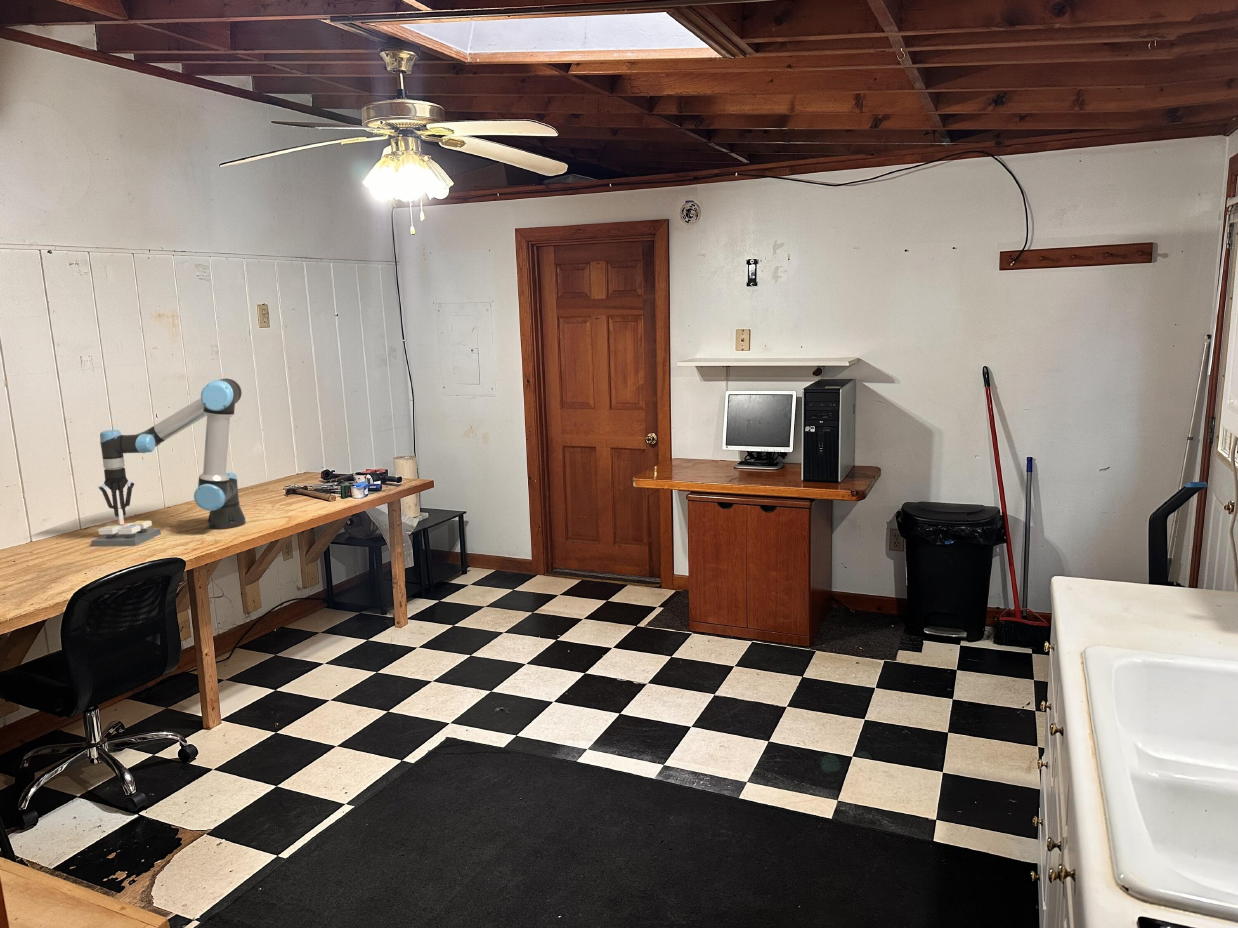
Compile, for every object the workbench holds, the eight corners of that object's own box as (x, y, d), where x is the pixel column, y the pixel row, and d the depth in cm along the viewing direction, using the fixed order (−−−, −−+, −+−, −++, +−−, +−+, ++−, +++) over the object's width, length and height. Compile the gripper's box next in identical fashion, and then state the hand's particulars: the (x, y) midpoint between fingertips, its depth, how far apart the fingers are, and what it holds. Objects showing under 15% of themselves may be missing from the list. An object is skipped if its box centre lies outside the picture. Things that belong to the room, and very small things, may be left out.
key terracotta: (134, 532, 361) (132, 522, 360) (125, 535, 355) (124, 525, 354) (120, 532, 361) (119, 522, 360) (112, 535, 356) (110, 526, 355)
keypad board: (160, 533, 363) (160, 528, 362) (135, 545, 345) (134, 540, 345) (119, 534, 364) (118, 528, 363) (92, 546, 346) (91, 540, 346)
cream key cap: (152, 529, 360) (151, 520, 360) (144, 533, 355) (143, 523, 354) (139, 529, 361) (137, 520, 360) (130, 533, 355) (129, 523, 354)
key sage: (122, 535, 353) (120, 525, 352) (113, 538, 347) (112, 528, 346) (108, 535, 353) (107, 525, 352) (99, 539, 348) (98, 529, 347)
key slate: (141, 534, 353) (139, 524, 352) (132, 538, 347) (131, 528, 346) (127, 535, 353) (126, 525, 352) (118, 538, 347) (117, 528, 346)
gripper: (129, 464, 360) (136, 519, 364) (94, 469, 351) (101, 524, 356) (134, 466, 355) (141, 522, 359) (98, 471, 346) (105, 528, 350)
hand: (121, 523), depth 357 cm, fingers closed
